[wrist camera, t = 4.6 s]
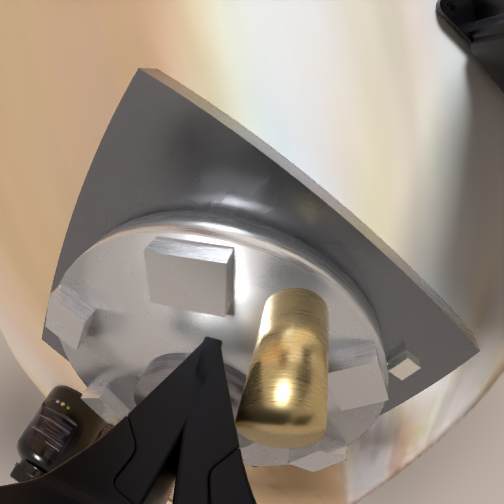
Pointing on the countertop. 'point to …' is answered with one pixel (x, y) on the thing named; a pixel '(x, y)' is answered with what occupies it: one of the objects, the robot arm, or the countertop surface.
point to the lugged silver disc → (227, 330)
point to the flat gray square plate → (255, 217)
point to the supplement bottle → (56, 434)
